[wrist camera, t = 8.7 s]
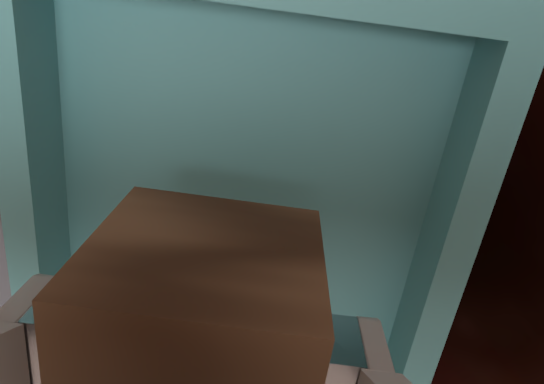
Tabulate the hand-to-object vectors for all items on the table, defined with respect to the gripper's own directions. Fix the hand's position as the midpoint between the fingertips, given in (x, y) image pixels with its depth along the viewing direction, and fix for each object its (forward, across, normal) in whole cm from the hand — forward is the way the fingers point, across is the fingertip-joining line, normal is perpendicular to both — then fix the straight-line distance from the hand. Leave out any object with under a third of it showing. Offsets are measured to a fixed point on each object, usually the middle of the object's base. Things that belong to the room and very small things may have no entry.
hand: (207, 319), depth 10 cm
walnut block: (+2, 0, 0) cm, 2 cm away
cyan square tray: (+9, 0, 0) cm, 9 cm away
